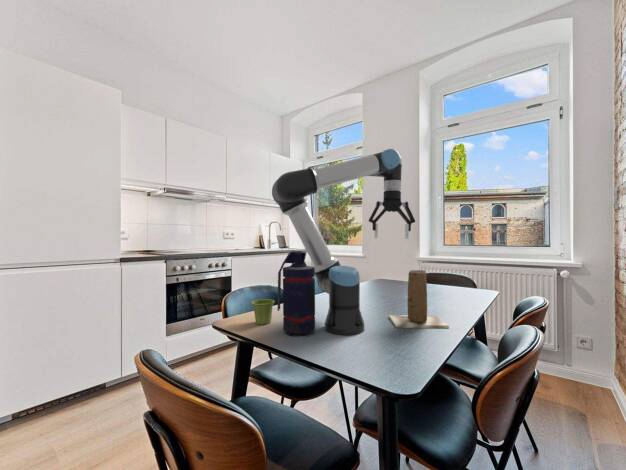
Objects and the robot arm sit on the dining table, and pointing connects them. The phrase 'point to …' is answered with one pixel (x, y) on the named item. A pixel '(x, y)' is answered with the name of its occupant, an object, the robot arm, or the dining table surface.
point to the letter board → (404, 322)
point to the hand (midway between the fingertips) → (391, 238)
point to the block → (417, 296)
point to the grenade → (297, 295)
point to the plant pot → (263, 310)
